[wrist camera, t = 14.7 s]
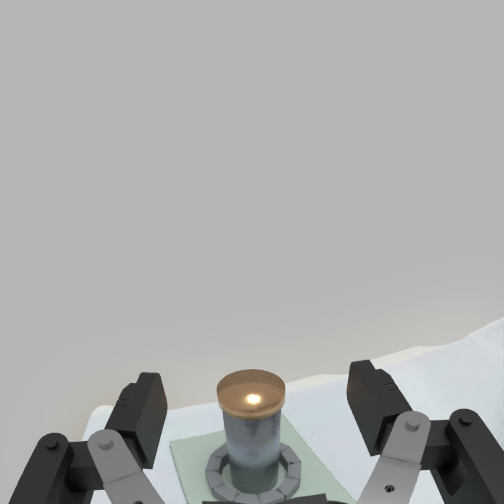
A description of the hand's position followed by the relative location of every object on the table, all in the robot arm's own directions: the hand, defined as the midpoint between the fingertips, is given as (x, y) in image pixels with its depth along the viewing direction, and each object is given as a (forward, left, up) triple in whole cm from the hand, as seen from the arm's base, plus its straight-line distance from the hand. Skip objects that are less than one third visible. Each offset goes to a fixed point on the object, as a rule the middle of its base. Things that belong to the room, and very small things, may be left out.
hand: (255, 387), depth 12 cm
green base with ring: (-4, -10, -24) cm, 26 cm away
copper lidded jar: (-4, -10, -23) cm, 25 cm away
